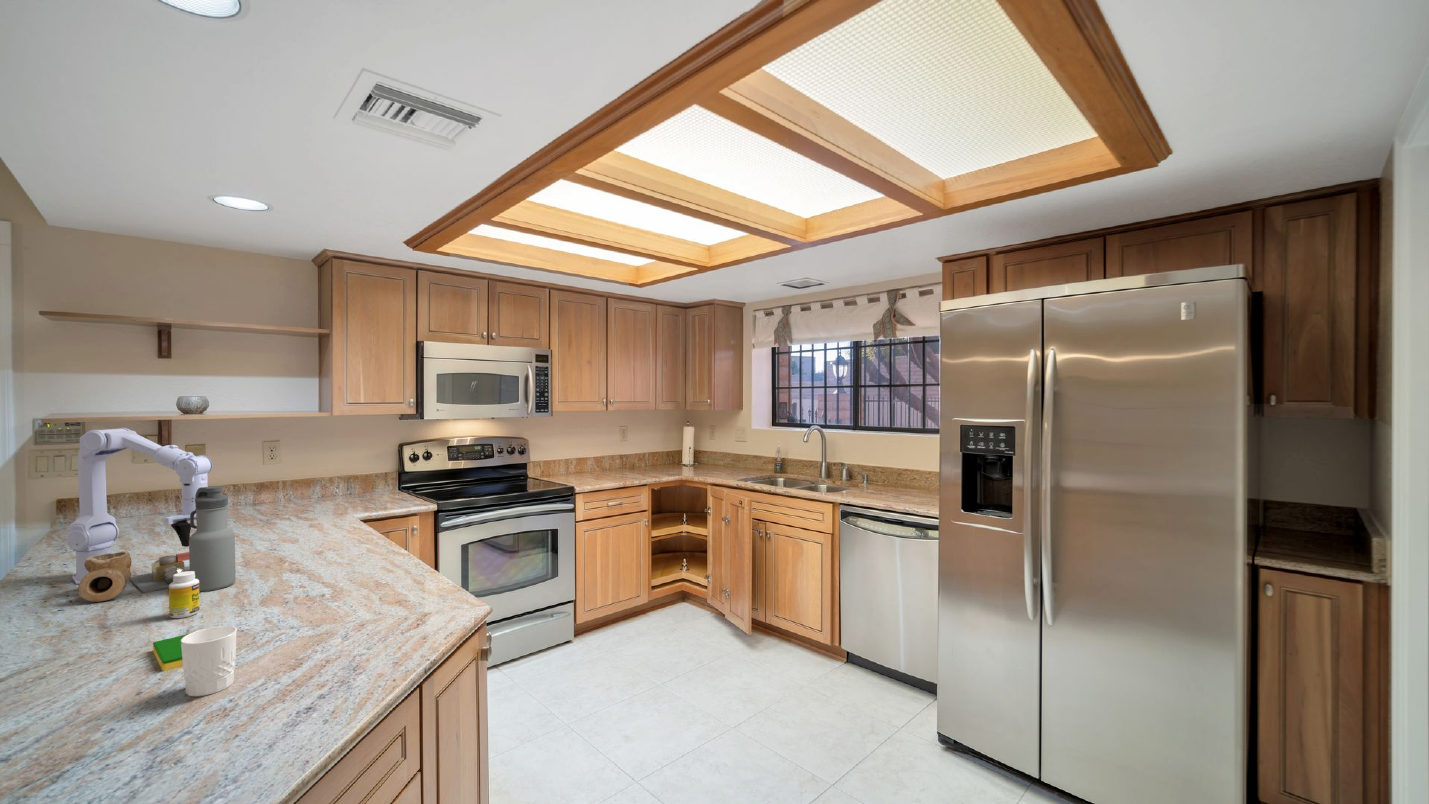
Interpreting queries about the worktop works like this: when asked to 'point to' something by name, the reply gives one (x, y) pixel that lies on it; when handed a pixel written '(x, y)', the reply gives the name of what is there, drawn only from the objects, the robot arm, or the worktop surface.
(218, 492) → the water bottle
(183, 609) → the supplement bottle
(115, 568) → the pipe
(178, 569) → the valve body
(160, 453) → the robot arm
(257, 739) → the worktop surface
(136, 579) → the mat
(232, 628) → the white cup
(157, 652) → the dish sponge
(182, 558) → the lever
